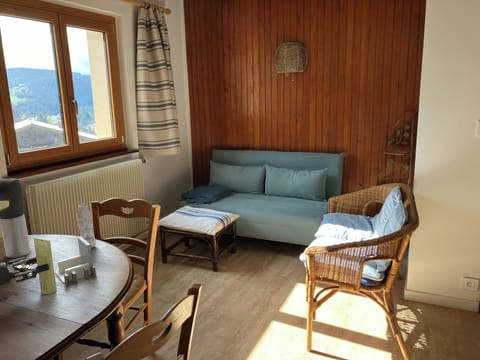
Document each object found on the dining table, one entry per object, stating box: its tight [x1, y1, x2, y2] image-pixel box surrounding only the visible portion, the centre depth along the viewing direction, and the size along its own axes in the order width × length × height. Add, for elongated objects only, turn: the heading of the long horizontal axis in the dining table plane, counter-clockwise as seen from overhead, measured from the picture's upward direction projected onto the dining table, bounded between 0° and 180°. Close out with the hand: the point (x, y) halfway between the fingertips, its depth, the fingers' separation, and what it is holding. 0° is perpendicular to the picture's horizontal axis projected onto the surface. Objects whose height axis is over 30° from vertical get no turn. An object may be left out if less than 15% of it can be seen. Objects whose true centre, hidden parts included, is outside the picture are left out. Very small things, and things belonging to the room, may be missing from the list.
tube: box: [33, 237, 57, 295], centre depth 135 cm, size 6×5×20 cm
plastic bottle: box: [76, 203, 97, 249], centre depth 171 cm, size 6×7×20 cm
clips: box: [63, 264, 97, 287], centre depth 144 cm, size 2×11×4 cm, turn 129°
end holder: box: [54, 236, 94, 285], centre depth 149 cm, size 11×11×12 cm
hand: (45, 262), depth 135 cm, fingers open, 8 cm apart
